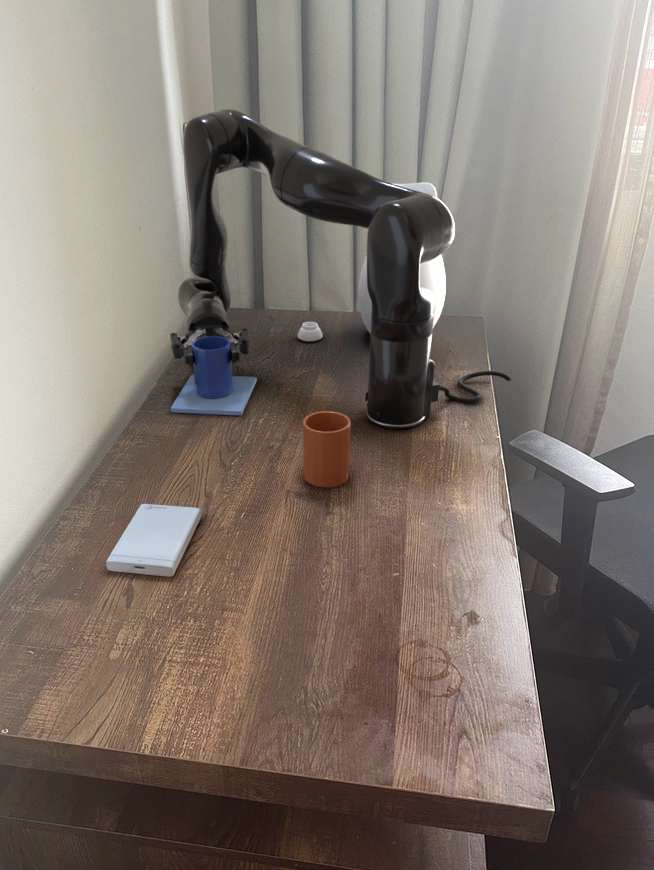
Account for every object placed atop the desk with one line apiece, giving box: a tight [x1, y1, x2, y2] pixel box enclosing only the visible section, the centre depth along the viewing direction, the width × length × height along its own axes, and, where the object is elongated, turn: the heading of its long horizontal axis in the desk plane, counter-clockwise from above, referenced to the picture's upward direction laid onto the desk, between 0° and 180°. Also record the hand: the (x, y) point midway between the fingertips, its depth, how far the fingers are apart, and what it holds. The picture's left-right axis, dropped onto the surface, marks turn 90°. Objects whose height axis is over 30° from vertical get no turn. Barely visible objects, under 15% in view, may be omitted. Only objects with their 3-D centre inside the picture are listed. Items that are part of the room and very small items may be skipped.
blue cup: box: [191, 336, 234, 398], centre depth 125 cm, size 6×6×8 cm
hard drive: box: [105, 503, 202, 578], centre depth 91 cm, size 2×8×12 cm
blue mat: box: [169, 374, 258, 417], centre depth 127 cm, size 14×12×1 cm
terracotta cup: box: [302, 410, 352, 488], centre depth 102 cm, size 6×6×8 cm
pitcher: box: [357, 181, 447, 334], centre depth 139 cm, size 24×17×28 cm
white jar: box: [297, 321, 323, 342], centre depth 149 cm, size 5×3×5 cm
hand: (212, 359), depth 121 cm, fingers closed on blue cup, 6 cm apart
